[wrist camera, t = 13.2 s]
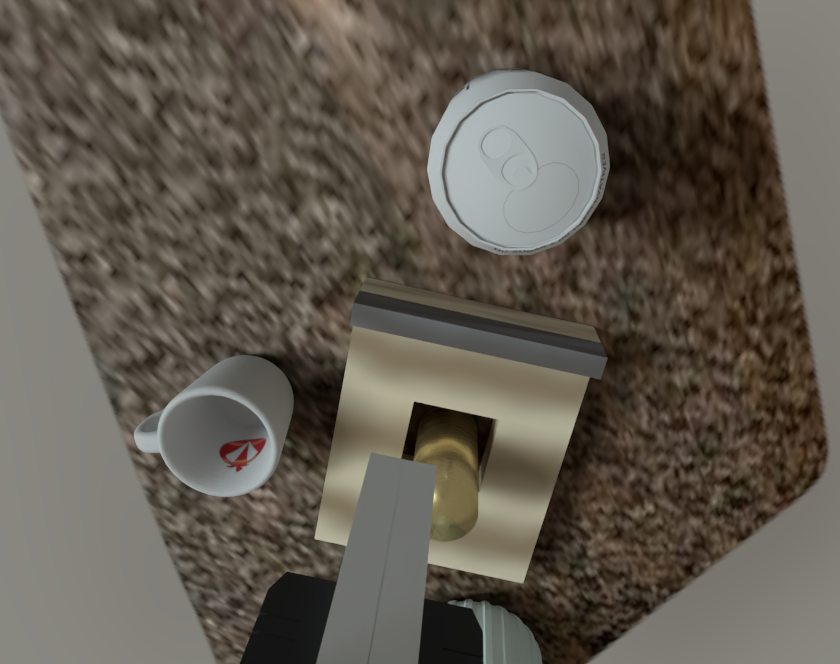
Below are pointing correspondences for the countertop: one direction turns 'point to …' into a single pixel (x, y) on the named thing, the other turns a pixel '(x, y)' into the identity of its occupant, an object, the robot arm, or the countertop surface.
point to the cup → (224, 427)
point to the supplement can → (517, 162)
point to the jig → (467, 392)
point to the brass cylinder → (450, 470)
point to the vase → (503, 635)
